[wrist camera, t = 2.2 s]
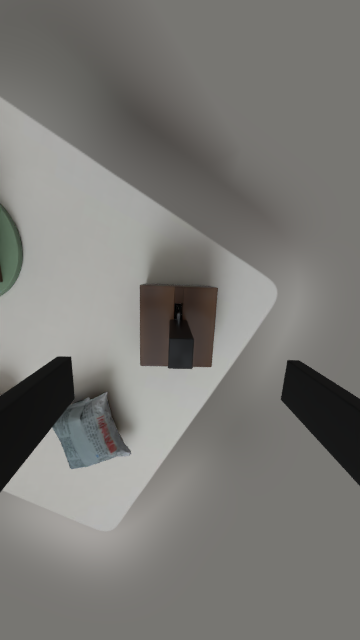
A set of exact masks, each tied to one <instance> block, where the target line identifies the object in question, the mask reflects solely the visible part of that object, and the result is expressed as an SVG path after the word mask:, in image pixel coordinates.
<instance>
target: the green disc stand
mask: <svg viewBox="0 0 360 640" xmlns="http://www.w3.org/2000/svg"><path fill="white" fill-rule="evenodd" d="M21 265H22V245H21V240H20V237H19V233H18V231H17V228H16V226H15V224H14V222H13V221H12V219H11V217H10V216H9V214H8V213H7V212H6V210H5V209H4V208H3V207H2V206H1V204H0V296H1V295H3V294H4V293H5V292H7V291H8V290H9V289H10V288H11V287H12V285H13V284H14V283H15V281H16V279H17V277H18V275H19V273H20V270H21Z"/></svg>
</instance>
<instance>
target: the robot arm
mask: <svg viewBox="0 0 360 640" xmlns="http://www.w3.org/2000/svg"><path fill="white" fill-rule="evenodd" d="M74 399H75V397H74V385H73V373H72V361H71V357H56V358H55V359H53V360H52V361H50V362H49V363H48V364H46V365H45V366H43V367H42V368H40V369H39V370H37V371H36V372H35V373H33V374H32V375H30V376H29V377H27V378H26V379H24V380H23V381H21V382H20V383H19V384H17V385H16V386H14V387H13V388H11V389H10V390H8V391H7V392H6V393H4V394H3V395H1V396H0V492H1V491H2V489H3V488H4V487H5V486H6V484H7V483H8V482H9V481H10V479H11V478H12V477H13V476H14V474H15V473H16V472H17V471H18V469H19V468H20V467H21V466H22V464H23V463H24V462H25V460H26V459H27V458H28V457H29V455H30V454H31V453H32V452H33V450H34V449H35V448H36V447H37V445H38V444H39V443H40V442H41V440H42V439H43V438H44V437H45V435H46V434H47V433H48V432H49V430H50V429H51V428H52V427H53V425H54V424H55V423H56V422H57V420H58V419H59V418H60V417H61V415H62V414H63V413H64V411H65V410H66V409H67V408H68V406H69V405H70V404H71V403H72V401H73V400H74ZM281 400H282V401H283V402H284V404H286V406H287V407H288V408H289V409H290V410H291V411H292V412H293V413H294V414H295V415H296V417H297V418H298V419H299V420H300V421H301V422H302V423H303V424H304V425H305V426H306V428H307V429H308V430H309V431H310V432H311V433H312V434H313V435H314V436H315V437H316V438H317V440H318V441H319V442H320V443H321V444H322V445H323V446H324V447H325V448H326V449H327V450H328V451H329V453H330V454H331V455H332V456H333V457H334V458H335V459H336V460H337V461H338V462H339V464H340V465H341V466H342V467H343V468H344V469H345V470H346V471H347V472H348V473H349V474H350V475H351V477H352V478H353V479H354V480H355V481H356V482H357V483H358V484H359V485H360V399H359V398H358V397H356V396H354V395H353V394H351V393H350V392H348V391H347V390H345V389H343V388H342V387H340V386H339V385H337V384H336V383H334V382H332V381H331V380H329V379H327V378H326V377H324V376H323V375H321V374H320V373H318V372H316V371H315V370H313V369H312V368H310V367H309V366H307V365H305V364H304V363H302V362H300V361H295V360H288V361H287V367H286V373H285V378H284V384H283V390H282V396H281Z"/></svg>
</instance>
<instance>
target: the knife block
mask: <svg viewBox="0 0 360 640" xmlns="http://www.w3.org/2000/svg"><path fill="white" fill-rule="evenodd" d="M217 292H218V288H216V287H211V286H194V285H169V284H142V285H140V366H168V351H169V324H170V320H174V303H177V304H181V310H180V320H187V322H188V324H189V327H190V330H191V332H192V335H193V338H194V351H193V367H211V366H212V354H213V341H214V329H215V317H216V304H217Z"/></svg>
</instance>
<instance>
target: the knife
mask: <svg viewBox="0 0 360 640" xmlns="http://www.w3.org/2000/svg"><path fill="white" fill-rule="evenodd" d="M193 351H194V338H193V335H192V332H191V330H190V327H189V324H188V322H187V320H180V312H179V308H178V306H176V320H170V324H169V351H168V368H173V369H192V368H193Z"/></svg>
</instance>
